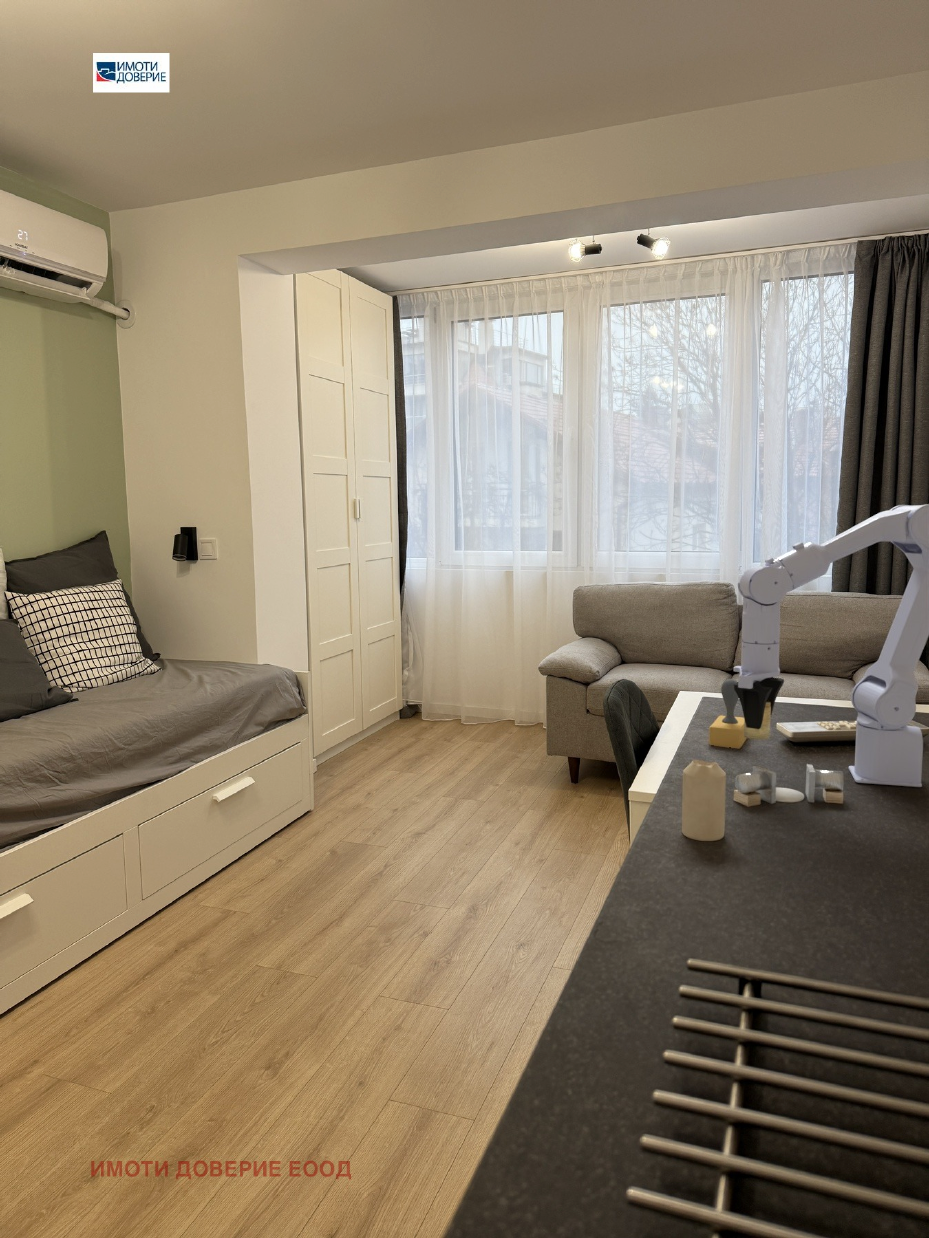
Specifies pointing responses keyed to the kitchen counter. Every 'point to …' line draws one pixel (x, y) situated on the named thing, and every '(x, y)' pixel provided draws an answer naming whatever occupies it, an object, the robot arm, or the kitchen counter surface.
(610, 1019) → the kitchen counter surface
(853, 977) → the kitchen counter surface
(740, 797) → the shaft
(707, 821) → the candle
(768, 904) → the kitchen counter surface
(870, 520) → the robot arm
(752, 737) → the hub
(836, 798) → the shaft
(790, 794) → the seat
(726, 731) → the rubber stamp
